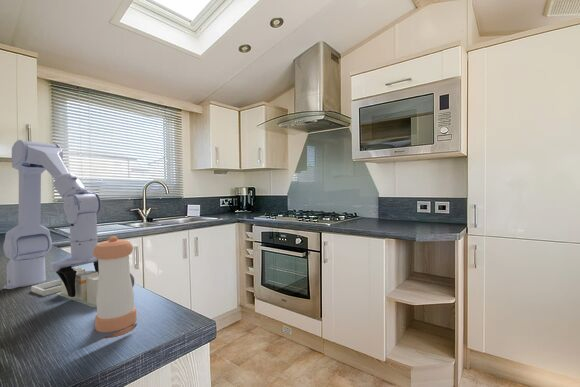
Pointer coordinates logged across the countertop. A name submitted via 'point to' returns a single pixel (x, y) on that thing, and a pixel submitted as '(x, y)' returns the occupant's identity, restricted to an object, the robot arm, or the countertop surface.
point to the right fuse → (92, 288)
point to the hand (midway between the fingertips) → (86, 291)
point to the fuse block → (78, 299)
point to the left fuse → (63, 283)
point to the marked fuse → (82, 283)
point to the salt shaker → (114, 288)
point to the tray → (40, 288)
